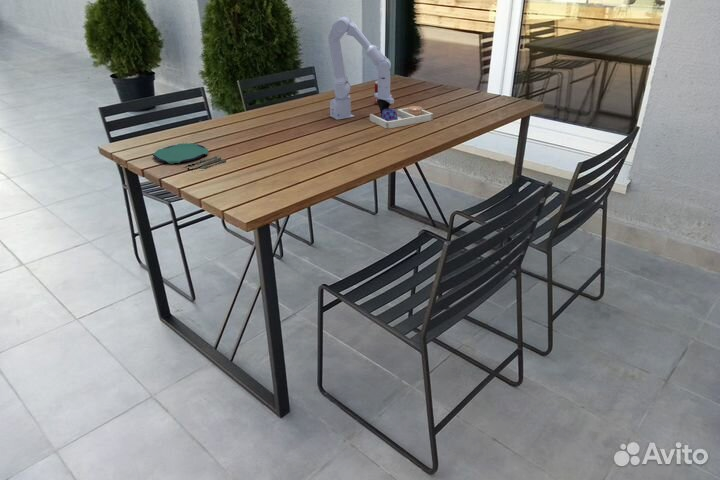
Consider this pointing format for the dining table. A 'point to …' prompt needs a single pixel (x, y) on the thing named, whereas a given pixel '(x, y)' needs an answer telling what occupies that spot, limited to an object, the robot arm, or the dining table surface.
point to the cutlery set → (184, 154)
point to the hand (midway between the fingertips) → (383, 115)
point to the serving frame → (406, 119)
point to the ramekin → (415, 110)
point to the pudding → (389, 115)
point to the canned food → (377, 91)
